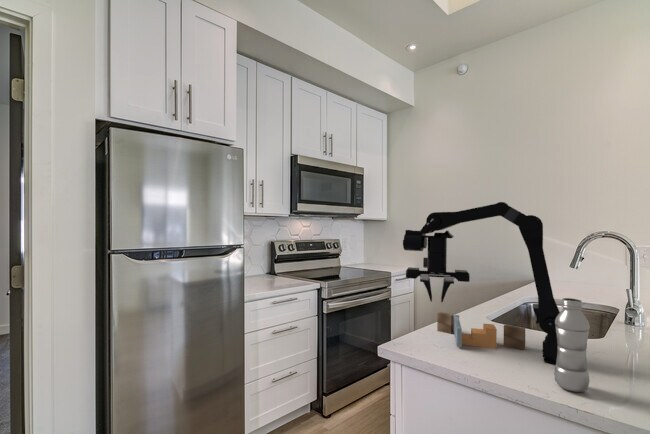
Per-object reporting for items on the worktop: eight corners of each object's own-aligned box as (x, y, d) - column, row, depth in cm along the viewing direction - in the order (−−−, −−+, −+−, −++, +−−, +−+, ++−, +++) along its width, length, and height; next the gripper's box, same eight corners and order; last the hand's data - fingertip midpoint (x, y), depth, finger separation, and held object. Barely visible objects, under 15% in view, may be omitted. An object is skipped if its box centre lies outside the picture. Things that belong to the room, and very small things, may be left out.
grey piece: (453, 332, 115) (453, 314, 115) (458, 332, 115) (458, 315, 115) (456, 347, 101) (456, 328, 101) (462, 348, 101) (462, 328, 101)
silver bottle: (547, 384, 79) (547, 297, 80) (567, 380, 82) (567, 295, 82) (575, 398, 73) (576, 304, 74) (596, 392, 76) (597, 302, 76)
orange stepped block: (460, 344, 105) (460, 325, 105) (459, 339, 110) (459, 321, 110) (496, 348, 102) (496, 329, 102) (493, 343, 107) (493, 324, 107)
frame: (525, 348, 102) (525, 327, 102) (523, 350, 100) (523, 329, 101) (439, 329, 119) (439, 311, 119) (437, 330, 117) (437, 313, 117)
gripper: (466, 251, 113) (466, 298, 113) (408, 249, 119) (408, 294, 119) (469, 254, 103) (469, 306, 103) (405, 251, 108) (405, 301, 108)
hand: (436, 301), depth 108 cm, fingers open, 3 cm apart
